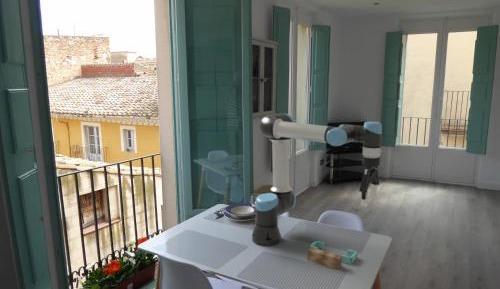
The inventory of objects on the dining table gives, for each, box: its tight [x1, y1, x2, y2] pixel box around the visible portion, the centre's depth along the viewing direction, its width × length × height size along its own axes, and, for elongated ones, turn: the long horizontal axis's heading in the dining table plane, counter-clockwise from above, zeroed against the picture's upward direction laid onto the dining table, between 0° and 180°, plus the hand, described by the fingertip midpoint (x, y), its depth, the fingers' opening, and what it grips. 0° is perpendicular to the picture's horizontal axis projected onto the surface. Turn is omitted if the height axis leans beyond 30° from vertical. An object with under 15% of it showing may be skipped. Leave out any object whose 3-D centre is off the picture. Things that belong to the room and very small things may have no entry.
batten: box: [306, 247, 343, 270], centre depth 159 cm, size 15×4×5 cm, turn 54°
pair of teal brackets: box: [308, 240, 358, 265], centre depth 167 cm, size 21×8×3 cm, turn 54°
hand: (368, 202), depth 162 cm, fingers open, 13 cm apart
